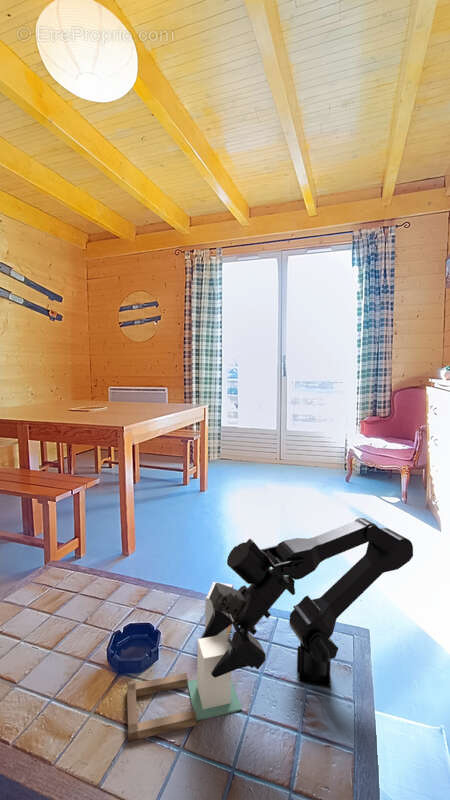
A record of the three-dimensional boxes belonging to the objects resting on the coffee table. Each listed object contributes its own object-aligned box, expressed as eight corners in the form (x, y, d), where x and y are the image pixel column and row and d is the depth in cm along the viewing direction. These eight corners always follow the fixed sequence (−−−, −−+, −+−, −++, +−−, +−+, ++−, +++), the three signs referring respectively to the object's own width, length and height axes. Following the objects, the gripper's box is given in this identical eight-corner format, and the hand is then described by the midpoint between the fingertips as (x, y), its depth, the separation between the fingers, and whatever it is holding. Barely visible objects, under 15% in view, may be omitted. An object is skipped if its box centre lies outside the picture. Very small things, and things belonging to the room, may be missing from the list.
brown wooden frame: (186, 679, 77) (186, 673, 77) (196, 725, 67) (196, 717, 67) (127, 691, 74) (127, 684, 74) (128, 741, 64) (128, 733, 64)
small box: (226, 644, 88) (227, 601, 88) (204, 640, 90) (205, 598, 89) (232, 623, 96) (233, 583, 96) (212, 620, 97) (212, 581, 97)
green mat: (228, 674, 79) (228, 673, 79) (241, 710, 70) (241, 708, 70) (187, 683, 77) (187, 681, 77) (195, 721, 68) (195, 719, 68)
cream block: (222, 681, 77) (223, 634, 76) (230, 703, 72) (231, 653, 71) (197, 686, 75) (197, 638, 75) (202, 709, 70) (203, 658, 70)
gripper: (222, 551, 83) (172, 606, 80) (250, 597, 65) (187, 671, 62) (254, 581, 85) (207, 635, 82) (290, 634, 67) (231, 705, 65)
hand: (207, 658), depth 73 cm, fingers open, 9 cm apart
